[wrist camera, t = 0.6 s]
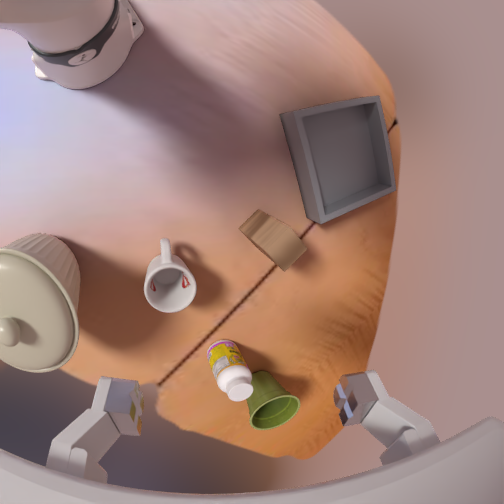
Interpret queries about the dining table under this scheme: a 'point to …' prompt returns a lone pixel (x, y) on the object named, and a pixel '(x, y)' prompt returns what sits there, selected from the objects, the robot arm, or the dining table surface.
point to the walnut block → (273, 239)
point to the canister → (38, 303)
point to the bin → (340, 155)
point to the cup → (169, 281)
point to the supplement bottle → (230, 370)
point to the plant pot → (270, 402)
